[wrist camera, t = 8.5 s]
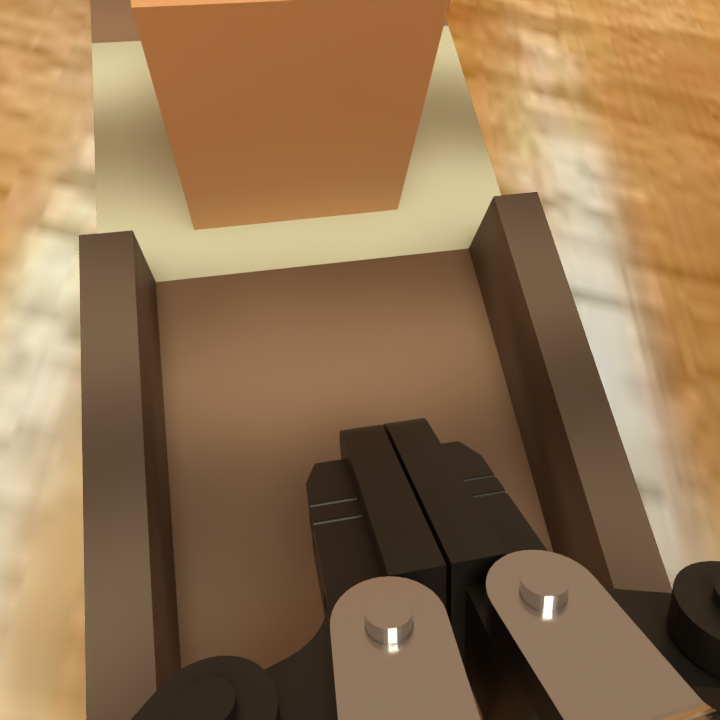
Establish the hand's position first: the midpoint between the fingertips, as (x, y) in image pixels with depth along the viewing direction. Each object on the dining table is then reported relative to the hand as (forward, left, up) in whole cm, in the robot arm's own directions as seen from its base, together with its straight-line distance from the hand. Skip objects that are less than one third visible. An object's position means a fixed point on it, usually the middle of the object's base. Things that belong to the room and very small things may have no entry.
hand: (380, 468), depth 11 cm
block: (-6, -9, -4) cm, 12 cm away
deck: (-6, -8, -7) cm, 12 cm away
